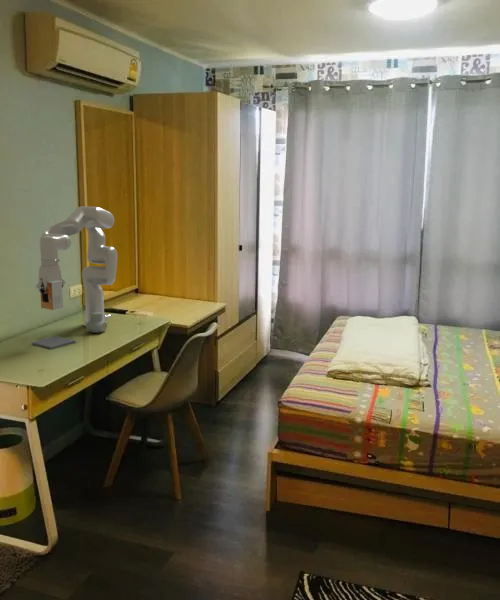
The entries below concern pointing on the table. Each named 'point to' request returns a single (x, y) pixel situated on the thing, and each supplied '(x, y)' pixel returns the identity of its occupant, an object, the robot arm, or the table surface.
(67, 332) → the table surface
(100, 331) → the air freshener
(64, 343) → the rest mat
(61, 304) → the small box
